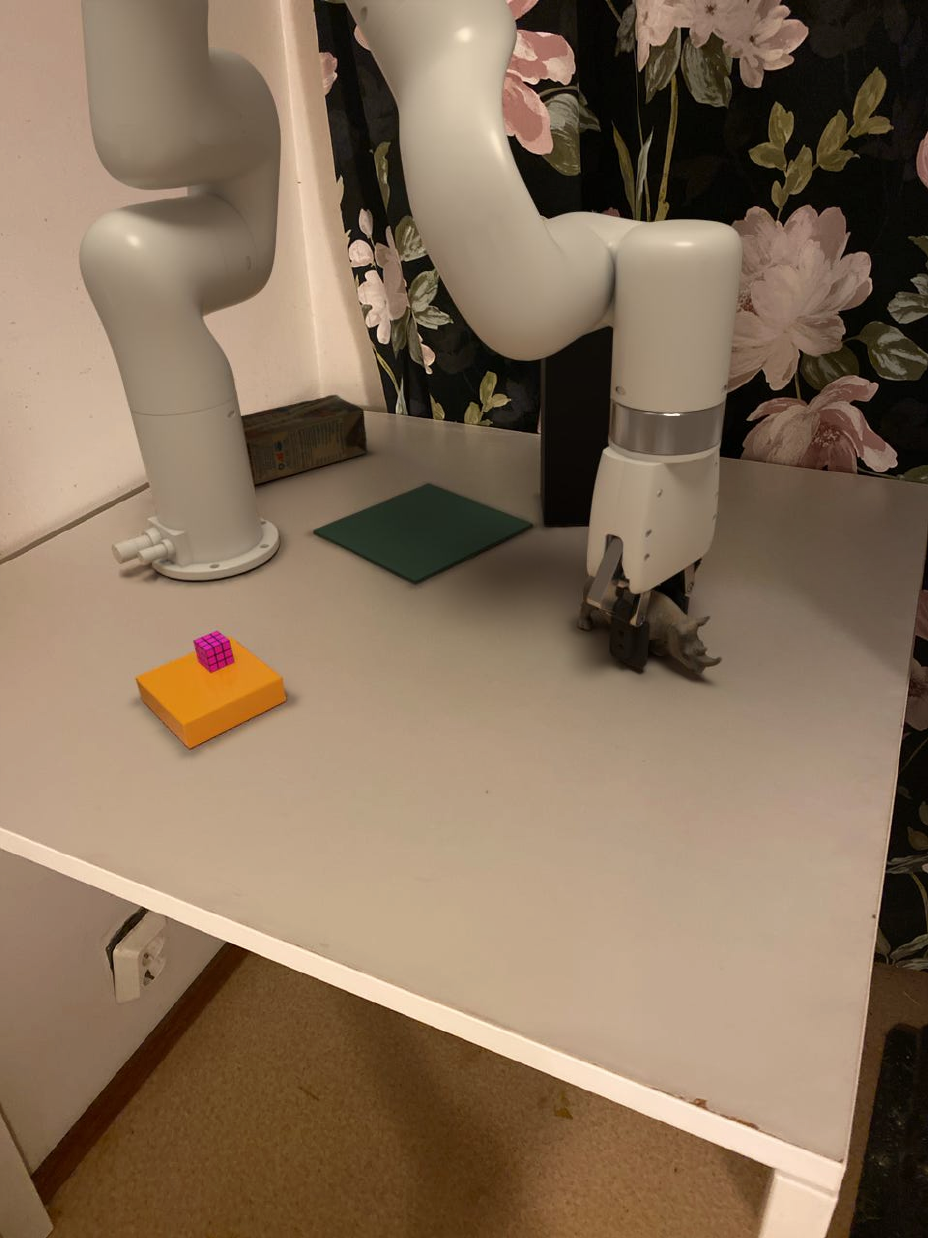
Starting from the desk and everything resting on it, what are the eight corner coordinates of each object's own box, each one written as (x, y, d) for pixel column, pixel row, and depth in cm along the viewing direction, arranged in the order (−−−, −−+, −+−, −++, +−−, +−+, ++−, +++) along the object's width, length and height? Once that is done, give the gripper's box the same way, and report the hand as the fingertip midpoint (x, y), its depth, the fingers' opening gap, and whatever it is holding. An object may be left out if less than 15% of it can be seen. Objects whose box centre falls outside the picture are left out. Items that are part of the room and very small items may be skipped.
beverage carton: (371, 454, 108) (366, 402, 104) (227, 497, 98) (216, 441, 95) (339, 437, 113) (333, 388, 110) (200, 477, 104) (189, 423, 100)
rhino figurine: (695, 705, 62) (704, 636, 59) (567, 627, 72) (568, 563, 69) (732, 683, 64) (743, 615, 61) (603, 610, 74) (606, 547, 71)
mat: (415, 584, 79) (415, 580, 79) (313, 533, 89) (313, 529, 89) (533, 526, 88) (533, 523, 88) (428, 486, 98) (428, 482, 98)
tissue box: (620, 525, 88) (638, 225, 73) (543, 528, 88) (545, 229, 73) (611, 494, 94) (625, 213, 80) (539, 496, 95) (540, 216, 80)
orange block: (287, 701, 65) (278, 654, 63) (189, 749, 61) (176, 701, 58) (235, 658, 70) (225, 613, 68) (141, 700, 66) (127, 654, 64)
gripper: (689, 382, 66) (669, 591, 75) (540, 444, 56) (539, 674, 66) (780, 402, 61) (746, 622, 70) (635, 473, 51) (619, 716, 61)
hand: (647, 645), depth 68 cm, fingers closed on rhino figurine, 4 cm apart
